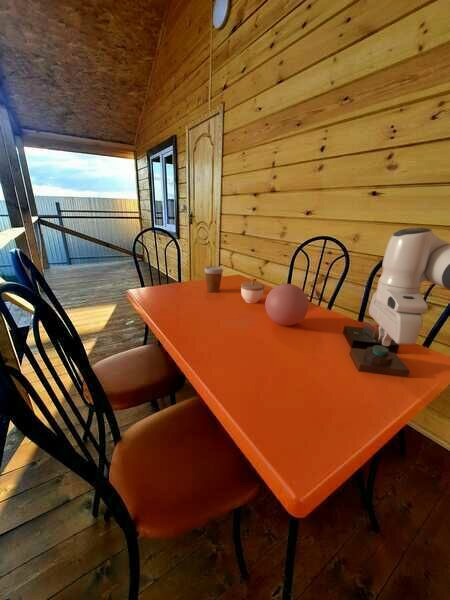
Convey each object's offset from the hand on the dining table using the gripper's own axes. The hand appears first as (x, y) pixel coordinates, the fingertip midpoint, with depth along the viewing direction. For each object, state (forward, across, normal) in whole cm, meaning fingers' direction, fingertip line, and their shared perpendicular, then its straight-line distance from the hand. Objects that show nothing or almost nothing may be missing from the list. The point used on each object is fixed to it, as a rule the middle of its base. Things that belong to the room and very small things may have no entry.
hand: (383, 343), depth 68 cm
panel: (+7, -14, +2) cm, 15 cm away
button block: (+7, 0, 0) cm, 7 cm away
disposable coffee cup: (+6, -56, -60) cm, 82 cm away
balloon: (+7, -24, -23) cm, 34 cm away
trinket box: (+7, -45, -39) cm, 60 cm away
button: (+3, 0, 0) cm, 3 cm away
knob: (+4, -14, +2) cm, 14 cm away
